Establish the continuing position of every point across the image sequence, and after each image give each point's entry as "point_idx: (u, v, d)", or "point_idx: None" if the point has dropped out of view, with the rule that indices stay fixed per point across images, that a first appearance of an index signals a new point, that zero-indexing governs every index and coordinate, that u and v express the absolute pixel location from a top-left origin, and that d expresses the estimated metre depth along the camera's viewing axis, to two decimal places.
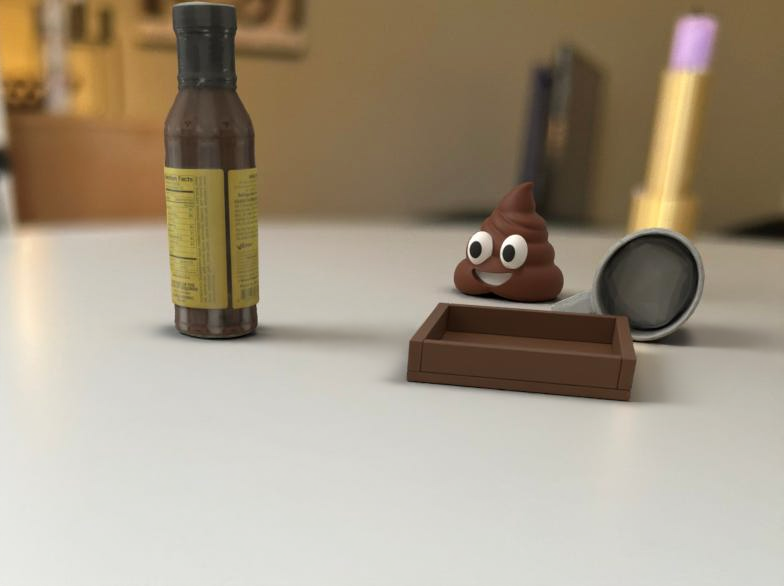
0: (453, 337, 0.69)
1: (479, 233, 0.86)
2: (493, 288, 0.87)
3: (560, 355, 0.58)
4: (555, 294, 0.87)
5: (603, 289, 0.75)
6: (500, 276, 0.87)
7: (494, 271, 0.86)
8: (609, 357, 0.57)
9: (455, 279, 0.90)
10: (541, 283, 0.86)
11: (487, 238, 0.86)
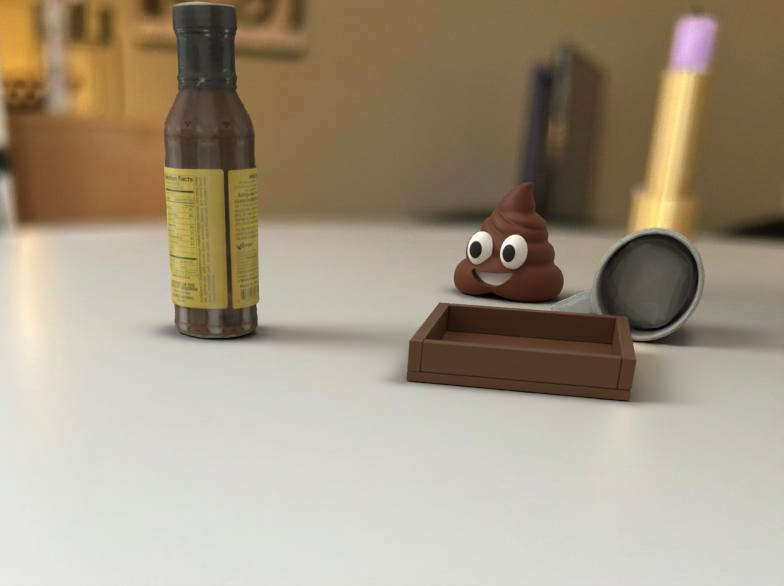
0: (453, 337, 0.69)
1: (479, 233, 0.86)
2: (493, 288, 0.87)
3: (560, 355, 0.58)
4: (555, 294, 0.87)
5: (603, 289, 0.75)
6: (500, 276, 0.87)
7: (494, 271, 0.86)
8: (609, 357, 0.57)
9: (455, 279, 0.90)
10: (541, 283, 0.86)
11: (487, 238, 0.86)
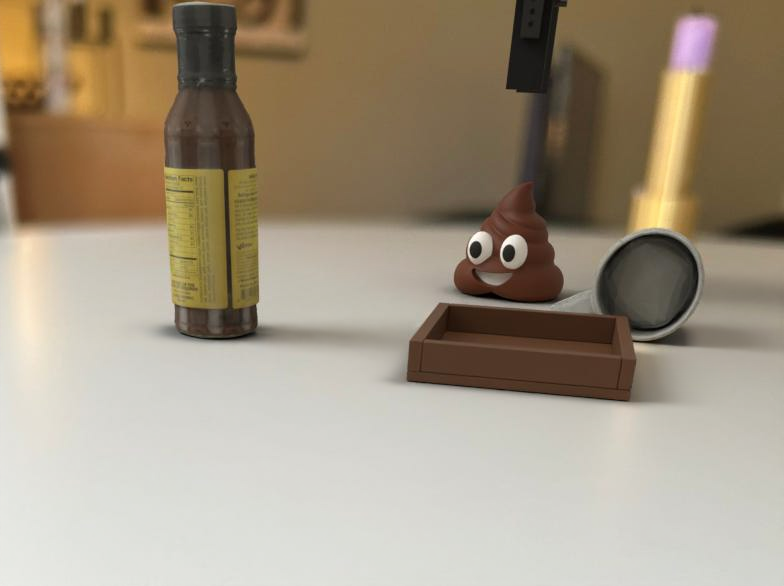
0: (453, 337, 0.69)
1: (479, 233, 0.86)
2: (493, 288, 0.87)
3: (560, 355, 0.58)
4: (555, 294, 0.87)
5: (603, 289, 0.75)
6: (500, 276, 0.87)
7: (494, 271, 0.86)
8: (609, 357, 0.57)
9: (455, 279, 0.90)
10: (541, 283, 0.86)
11: (487, 238, 0.86)
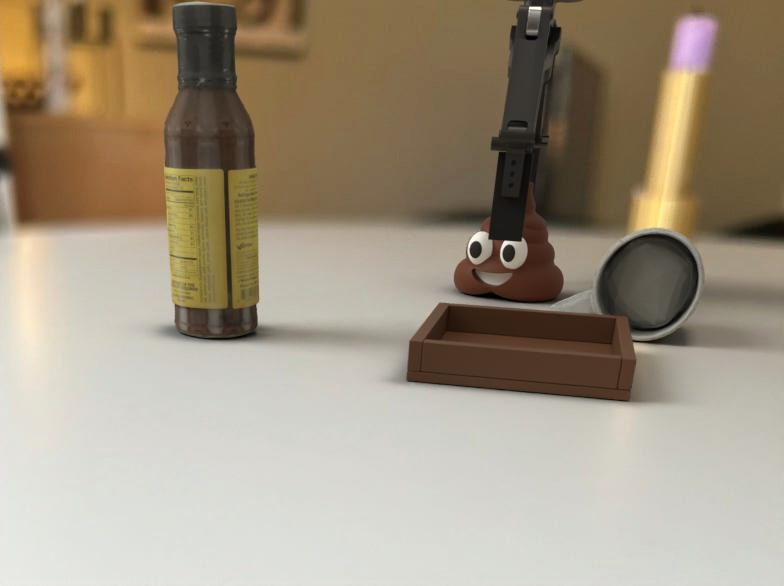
0: (453, 337, 0.69)
1: (479, 233, 0.86)
2: (493, 288, 0.87)
3: (560, 355, 0.58)
4: (555, 294, 0.87)
5: (603, 289, 0.75)
6: (500, 276, 0.87)
7: (494, 271, 0.86)
8: (609, 357, 0.57)
9: (455, 279, 0.90)
10: (541, 283, 0.86)
11: (487, 238, 0.86)
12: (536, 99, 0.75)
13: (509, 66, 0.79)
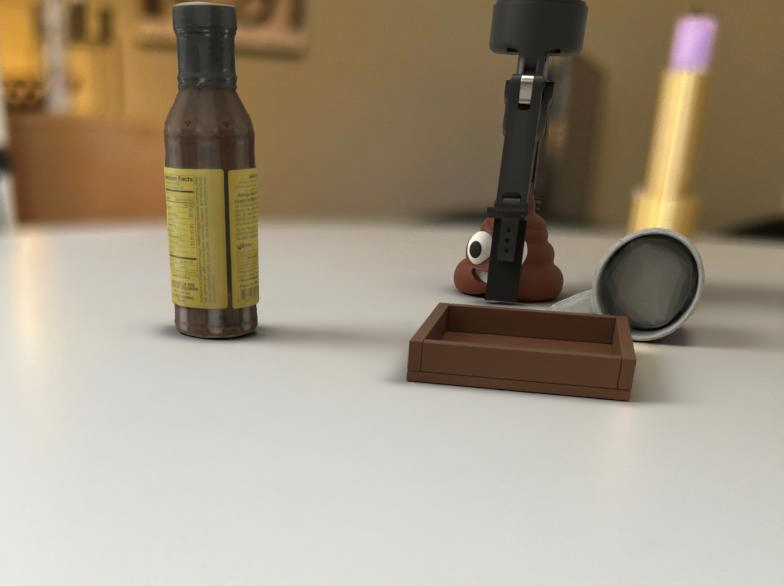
0: (453, 337, 0.69)
1: (479, 233, 0.86)
2: None
3: (560, 355, 0.58)
4: (555, 294, 0.87)
5: (603, 289, 0.75)
6: None
7: None
8: (609, 357, 0.57)
9: (455, 279, 0.90)
10: (541, 283, 0.86)
11: (487, 238, 0.86)
12: (529, 171, 0.78)
13: (503, 128, 0.81)
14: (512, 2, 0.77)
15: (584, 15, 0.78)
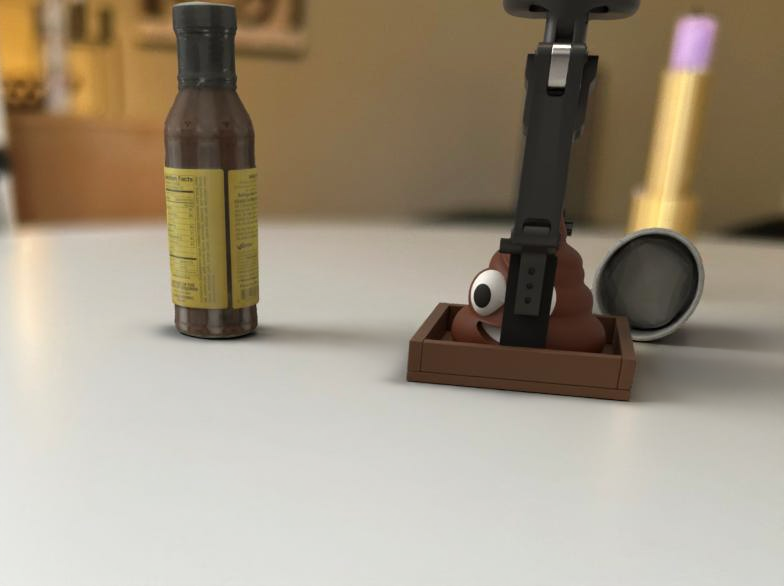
0: None
1: (487, 273, 0.61)
2: None
3: (560, 355, 0.58)
4: None
5: (603, 289, 0.75)
6: None
7: None
8: (609, 357, 0.57)
9: (453, 334, 0.65)
10: (575, 344, 0.61)
11: (499, 280, 0.60)
12: (563, 186, 0.53)
13: (524, 123, 0.56)
14: None
15: None
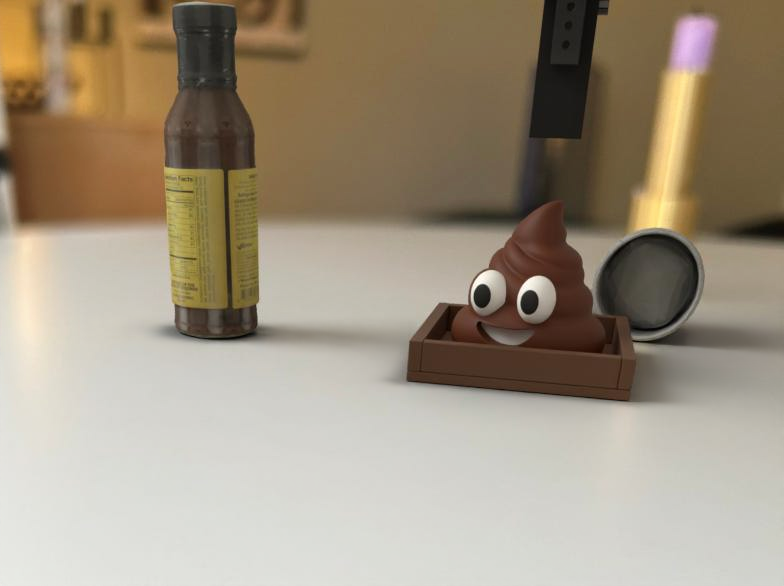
0: None
1: (487, 273, 0.61)
2: None
3: (560, 355, 0.58)
4: None
5: (603, 289, 0.75)
6: (517, 332, 0.62)
7: (508, 326, 0.61)
8: (609, 357, 0.57)
9: (453, 335, 0.65)
10: (575, 344, 0.61)
11: (498, 280, 0.60)
12: None
13: None
14: None
15: None
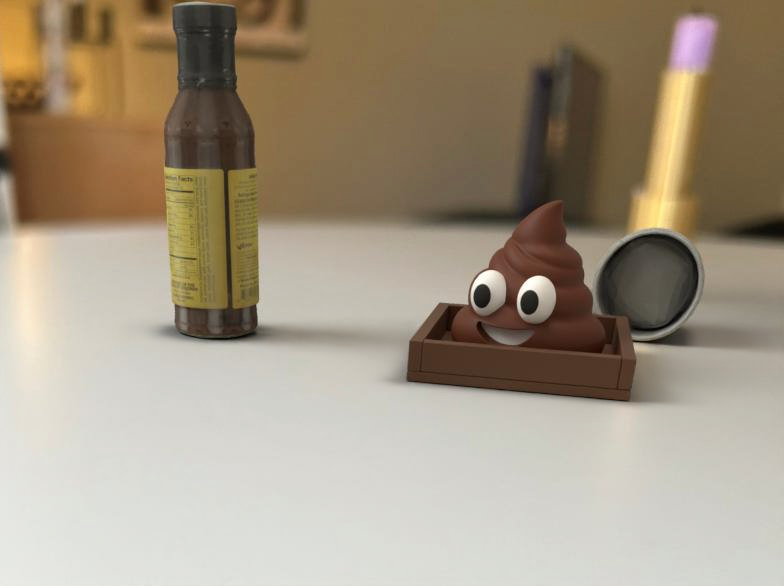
0: None
1: (487, 273, 0.61)
2: None
3: (560, 355, 0.58)
4: None
5: (603, 289, 0.75)
6: (517, 332, 0.62)
7: (508, 326, 0.61)
8: (609, 357, 0.57)
9: (453, 334, 0.65)
10: (575, 344, 0.61)
11: (498, 280, 0.60)
12: None
13: None
14: None
15: None
